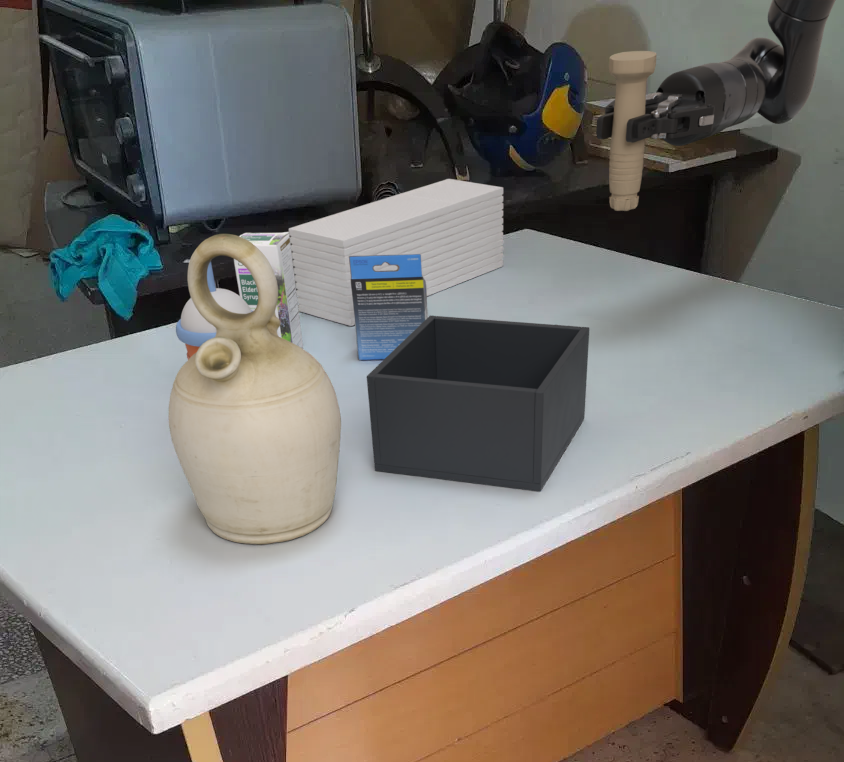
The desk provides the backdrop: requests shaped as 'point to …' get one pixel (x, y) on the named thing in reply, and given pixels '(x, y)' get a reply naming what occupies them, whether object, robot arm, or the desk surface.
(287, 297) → the syrup box
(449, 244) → the white rectangular block
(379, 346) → the tape cartridge
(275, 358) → the jug
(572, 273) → the desk surface
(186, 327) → the cup with straw
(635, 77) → the handle
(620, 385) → the desk surface
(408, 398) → the bin
